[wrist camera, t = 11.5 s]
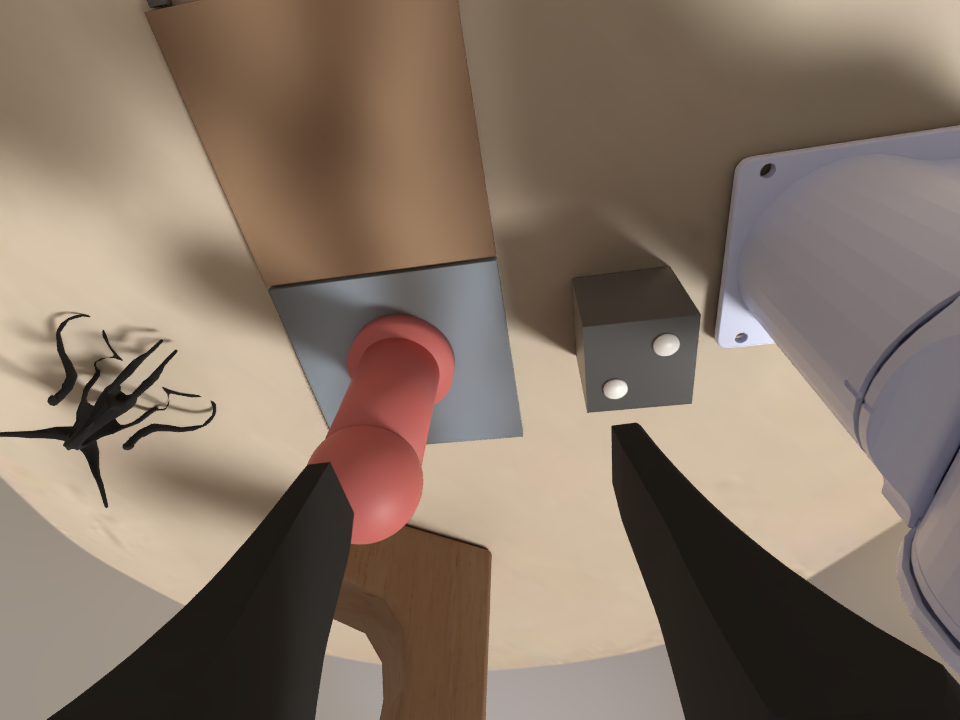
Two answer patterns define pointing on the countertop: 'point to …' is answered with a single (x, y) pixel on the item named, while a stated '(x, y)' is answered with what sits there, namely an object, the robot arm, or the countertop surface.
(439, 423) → the board
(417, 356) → the pawn
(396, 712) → the wooden block
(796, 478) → the countertop surface
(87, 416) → the creature
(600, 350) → the die
